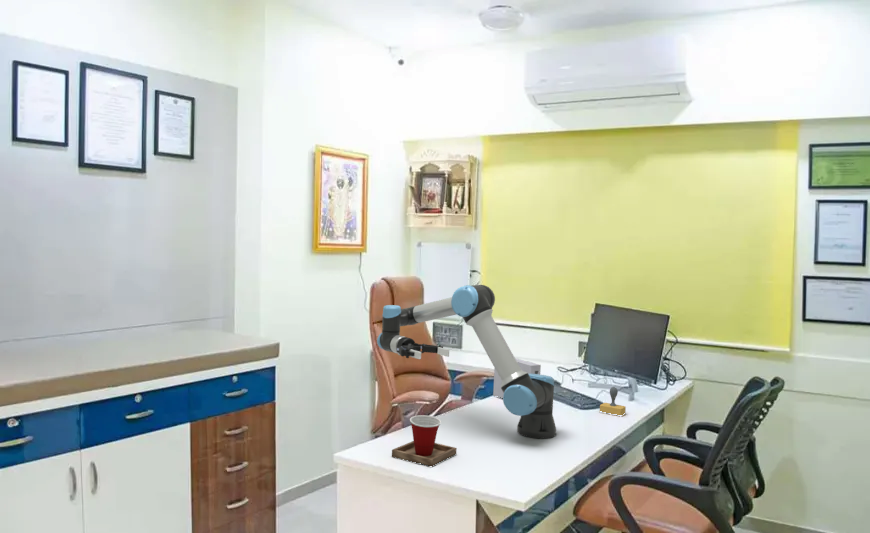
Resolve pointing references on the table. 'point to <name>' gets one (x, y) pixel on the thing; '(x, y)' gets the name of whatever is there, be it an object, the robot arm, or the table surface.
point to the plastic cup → (424, 433)
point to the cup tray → (437, 456)
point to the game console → (524, 365)
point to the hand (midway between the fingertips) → (434, 354)
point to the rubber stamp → (613, 404)
